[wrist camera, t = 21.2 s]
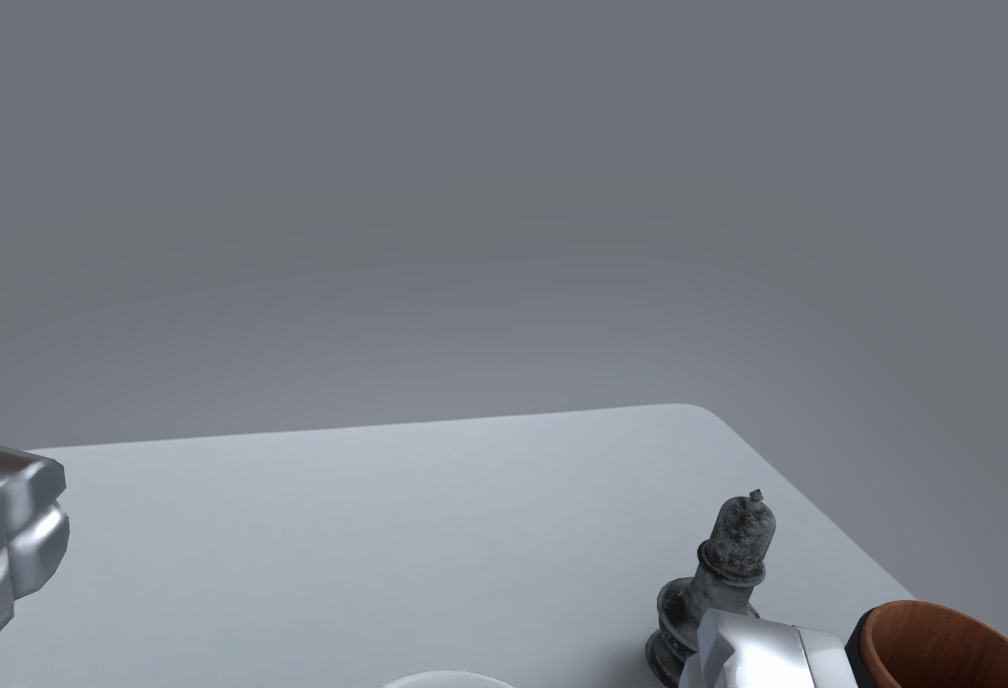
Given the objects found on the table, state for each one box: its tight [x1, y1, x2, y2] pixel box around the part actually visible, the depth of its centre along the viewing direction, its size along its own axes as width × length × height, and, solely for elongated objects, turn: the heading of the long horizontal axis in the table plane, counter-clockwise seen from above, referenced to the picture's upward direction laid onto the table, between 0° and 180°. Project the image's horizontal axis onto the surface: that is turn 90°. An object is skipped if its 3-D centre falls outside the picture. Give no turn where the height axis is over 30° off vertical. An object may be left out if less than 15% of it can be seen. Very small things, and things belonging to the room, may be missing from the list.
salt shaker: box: [647, 489, 776, 688], centre depth 42 cm, size 6×6×12 cm
